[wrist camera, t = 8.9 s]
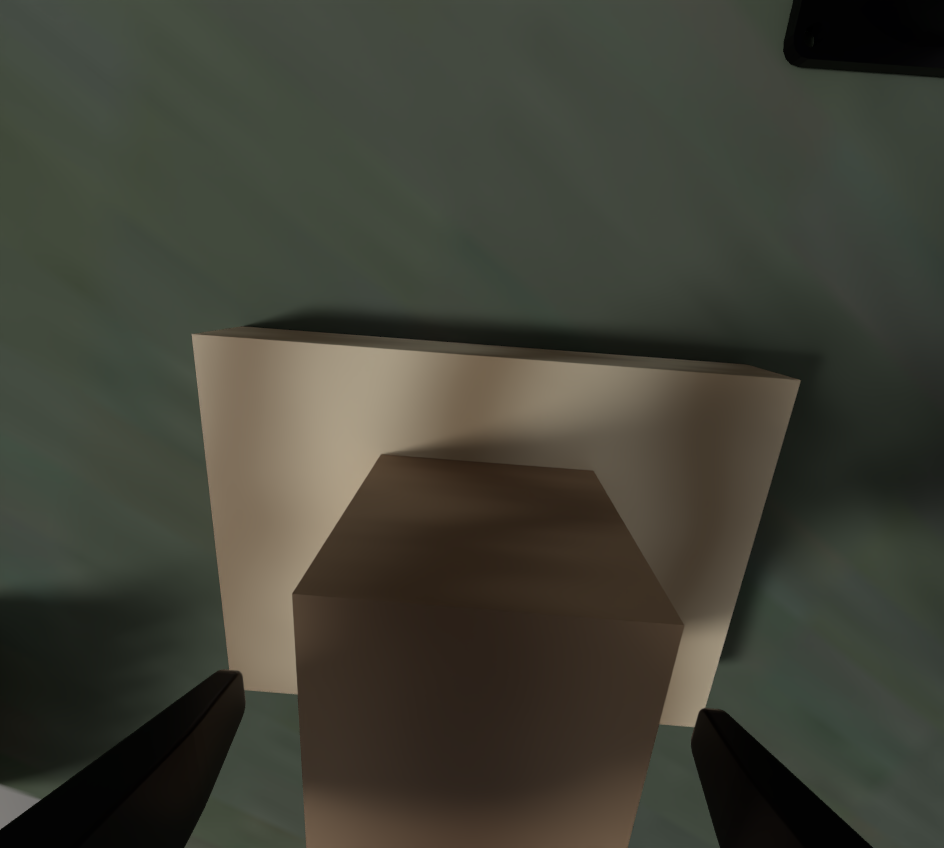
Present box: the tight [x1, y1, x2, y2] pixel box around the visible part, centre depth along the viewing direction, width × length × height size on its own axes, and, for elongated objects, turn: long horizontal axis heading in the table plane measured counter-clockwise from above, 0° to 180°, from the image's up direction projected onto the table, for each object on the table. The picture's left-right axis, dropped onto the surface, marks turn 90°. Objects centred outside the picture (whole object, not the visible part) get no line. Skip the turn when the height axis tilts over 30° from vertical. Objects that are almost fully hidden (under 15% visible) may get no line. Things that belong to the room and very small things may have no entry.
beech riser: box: [192, 326, 801, 727], centre depth 15 cm, size 16×12×2 cm
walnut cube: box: [292, 454, 684, 848], centre depth 11 cm, size 6×6×6 cm
